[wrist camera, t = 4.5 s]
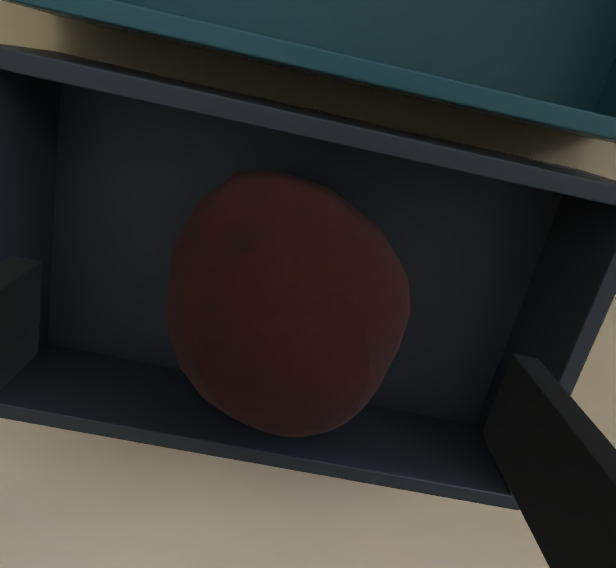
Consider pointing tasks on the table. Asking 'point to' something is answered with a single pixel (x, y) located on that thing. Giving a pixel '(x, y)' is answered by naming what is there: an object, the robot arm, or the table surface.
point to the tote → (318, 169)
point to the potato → (284, 303)
